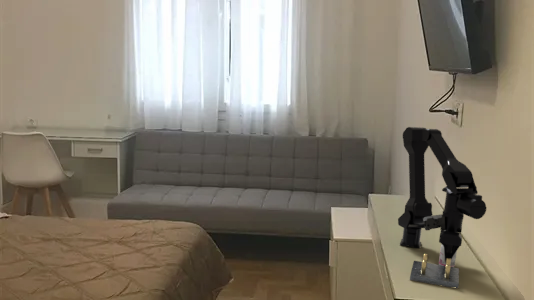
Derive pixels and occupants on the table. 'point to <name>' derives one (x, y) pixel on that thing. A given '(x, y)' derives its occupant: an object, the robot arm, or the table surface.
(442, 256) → the pill bottle
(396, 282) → the table surface
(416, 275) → the grey pegged plate
